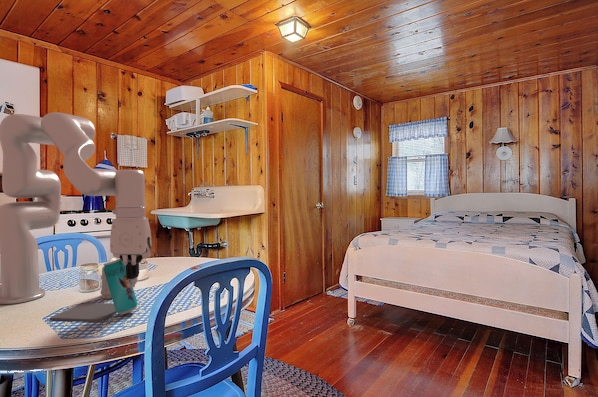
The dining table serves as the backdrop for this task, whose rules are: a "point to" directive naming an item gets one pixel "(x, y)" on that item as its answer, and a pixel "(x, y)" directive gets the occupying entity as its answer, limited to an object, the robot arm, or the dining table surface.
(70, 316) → the mat
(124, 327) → the dining table surface
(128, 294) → the beverage can
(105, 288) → the mug
